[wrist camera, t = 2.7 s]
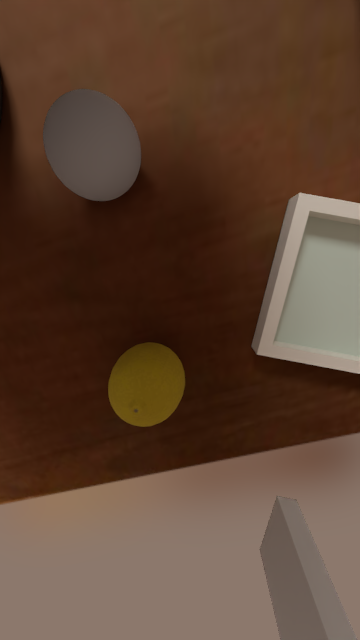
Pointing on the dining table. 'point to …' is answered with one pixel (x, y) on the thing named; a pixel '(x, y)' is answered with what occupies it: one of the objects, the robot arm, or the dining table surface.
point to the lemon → (146, 384)
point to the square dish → (314, 286)
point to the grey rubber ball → (92, 145)
